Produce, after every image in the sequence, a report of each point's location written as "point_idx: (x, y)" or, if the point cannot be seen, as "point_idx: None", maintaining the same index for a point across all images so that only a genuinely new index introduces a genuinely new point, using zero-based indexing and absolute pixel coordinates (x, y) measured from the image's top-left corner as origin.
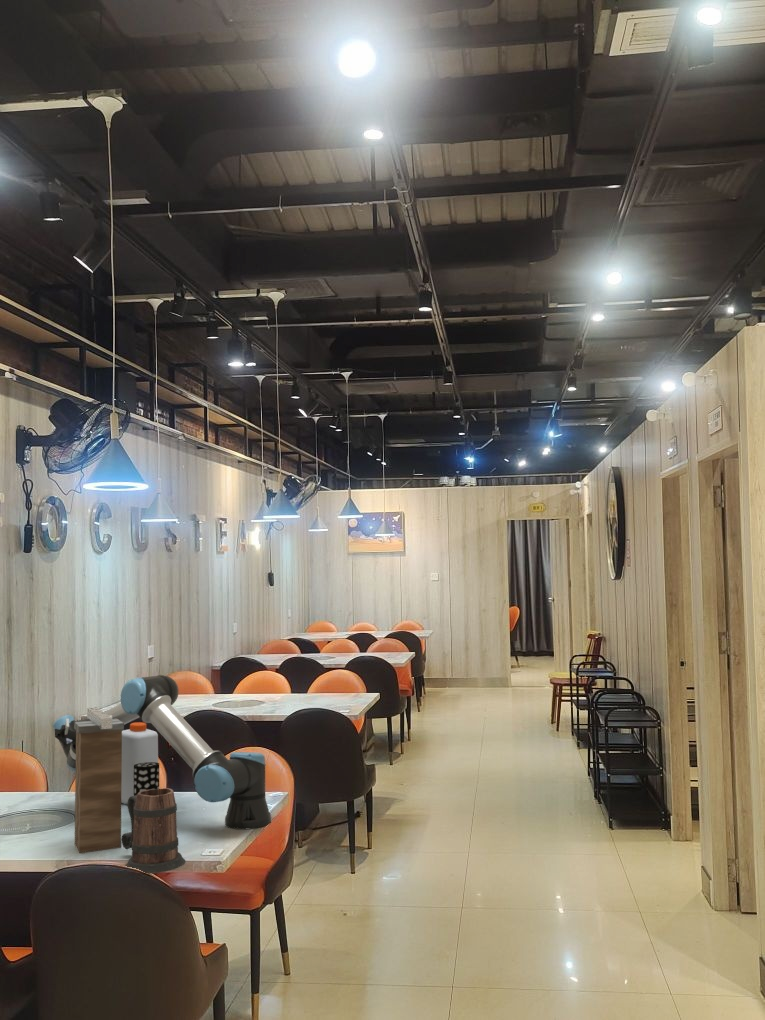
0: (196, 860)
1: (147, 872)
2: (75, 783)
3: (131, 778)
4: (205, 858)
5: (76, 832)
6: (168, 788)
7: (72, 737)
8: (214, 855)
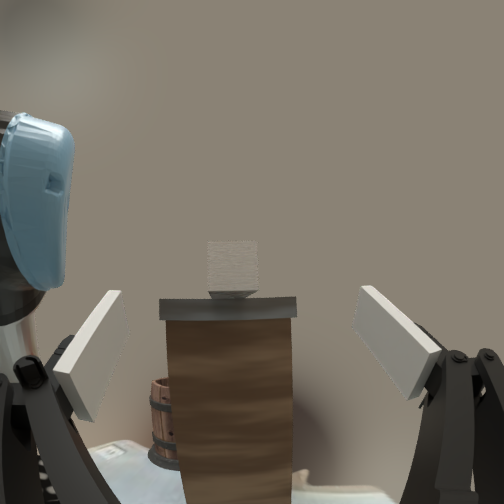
0: (140, 445)
1: None
2: (291, 462)
3: None
4: (130, 445)
5: None
6: (153, 383)
7: (409, 476)
8: (117, 445)
